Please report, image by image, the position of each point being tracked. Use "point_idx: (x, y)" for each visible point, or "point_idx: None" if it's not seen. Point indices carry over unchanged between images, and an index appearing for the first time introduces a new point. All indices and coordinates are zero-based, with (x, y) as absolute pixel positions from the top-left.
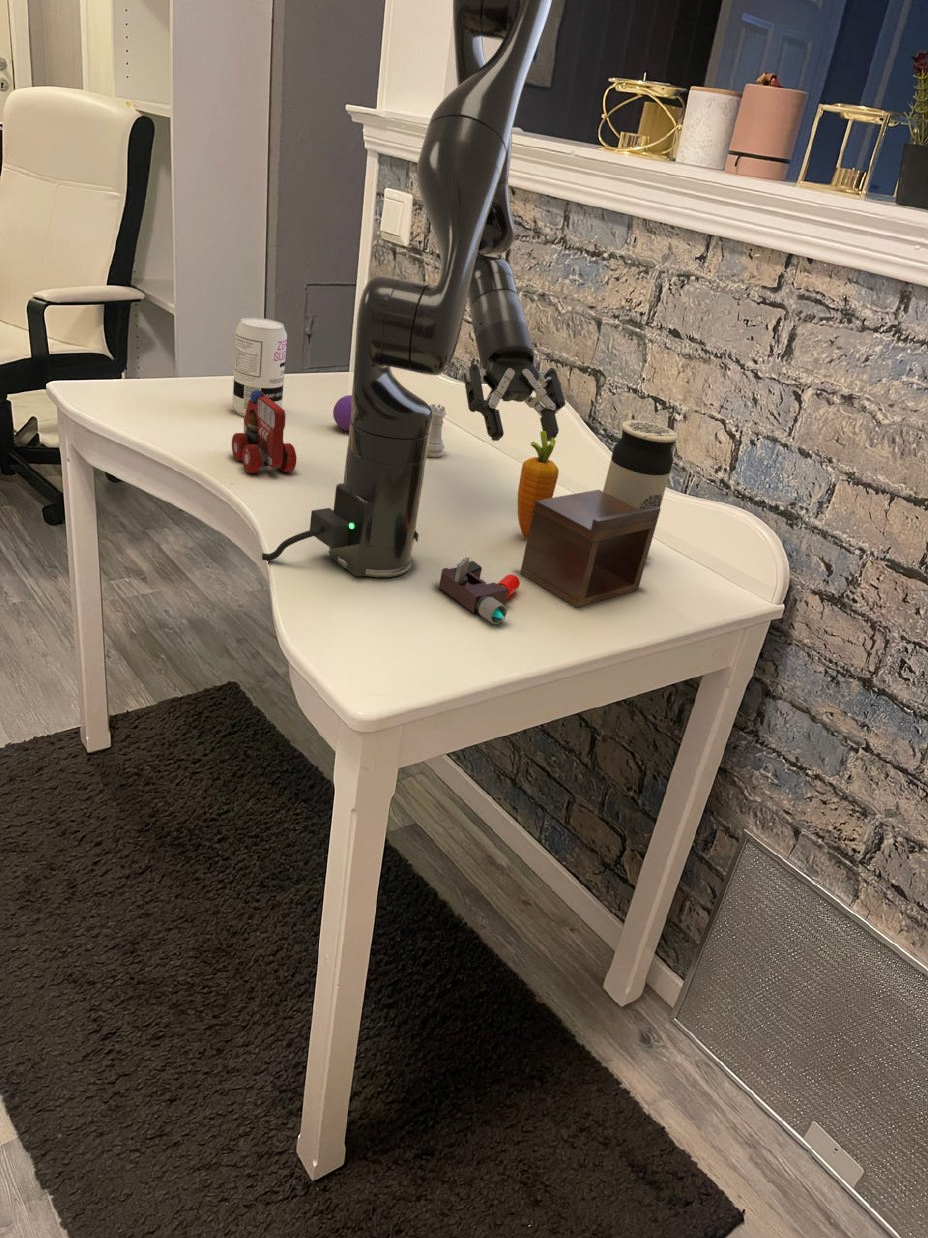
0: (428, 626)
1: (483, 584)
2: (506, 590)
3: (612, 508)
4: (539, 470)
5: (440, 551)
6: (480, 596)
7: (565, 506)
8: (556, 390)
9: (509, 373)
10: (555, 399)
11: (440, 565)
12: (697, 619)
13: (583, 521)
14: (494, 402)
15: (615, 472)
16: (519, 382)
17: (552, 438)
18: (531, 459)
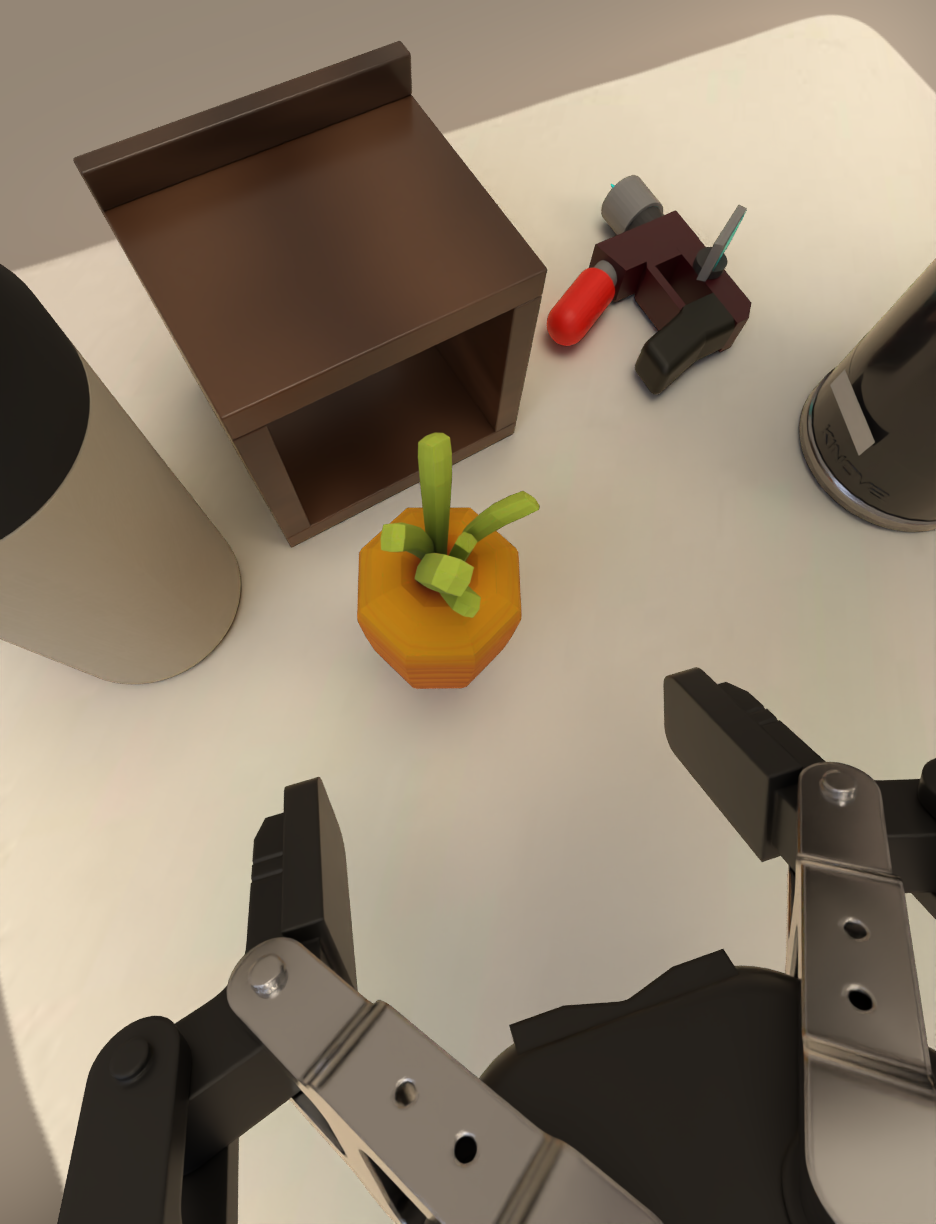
0: (753, 206)
1: (653, 258)
2: (600, 242)
3: (250, 250)
4: (468, 509)
5: (718, 529)
6: (666, 215)
7: (442, 240)
8: (138, 1218)
9: (882, 1131)
10: (187, 1110)
11: (721, 451)
12: (108, 264)
13: (414, 144)
14: (834, 803)
15: (107, 407)
16: (659, 1151)
17: (400, 536)
18: (494, 580)
